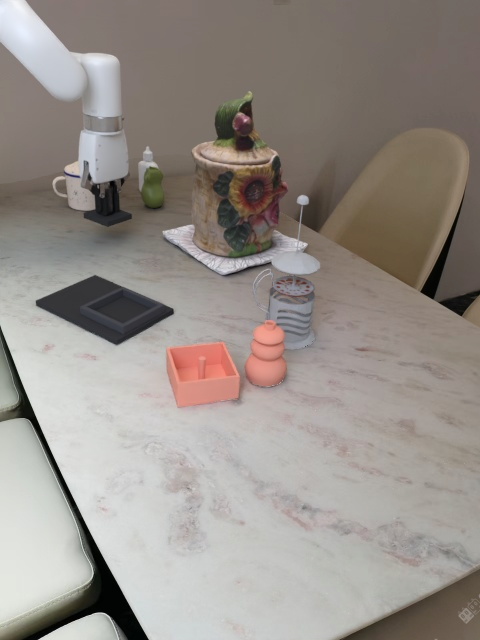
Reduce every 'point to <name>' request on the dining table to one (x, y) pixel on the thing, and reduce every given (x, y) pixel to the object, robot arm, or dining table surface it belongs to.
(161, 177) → the pear
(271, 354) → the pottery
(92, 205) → the teacup with lid
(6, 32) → the robot arm
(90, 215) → the stud pad
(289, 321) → the french press
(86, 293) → the base pad
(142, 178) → the eye dropper bottle
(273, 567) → the dining table surface
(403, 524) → the dining table surface
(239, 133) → the cookie jar
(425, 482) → the dining table surface
